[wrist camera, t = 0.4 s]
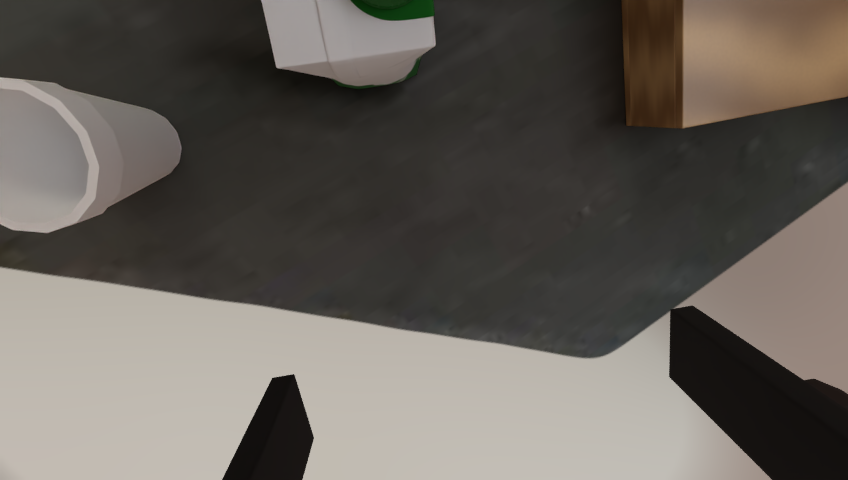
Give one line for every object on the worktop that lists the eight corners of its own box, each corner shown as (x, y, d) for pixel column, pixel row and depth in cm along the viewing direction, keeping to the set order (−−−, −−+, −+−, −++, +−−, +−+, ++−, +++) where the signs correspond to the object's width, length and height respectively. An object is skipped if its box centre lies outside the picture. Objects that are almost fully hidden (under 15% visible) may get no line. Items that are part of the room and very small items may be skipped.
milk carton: (428, 84, 37) (453, 52, 18) (328, 98, 37) (248, 81, 18) (414, -27, 35) (427, -201, 15) (307, -12, 34) (187, -168, 15)
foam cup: (126, 208, 39) (-3, 252, 27) (69, 112, 36) (-104, 111, 24) (217, 174, 39) (128, 202, 26) (166, 74, 36) (40, 52, 24)
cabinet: (619, -61, 34) (683, -113, 27) (782, -93, 34) (895, -156, 26) (626, 125, 39) (682, 128, 31) (770, 97, 39) (864, 93, 31)
